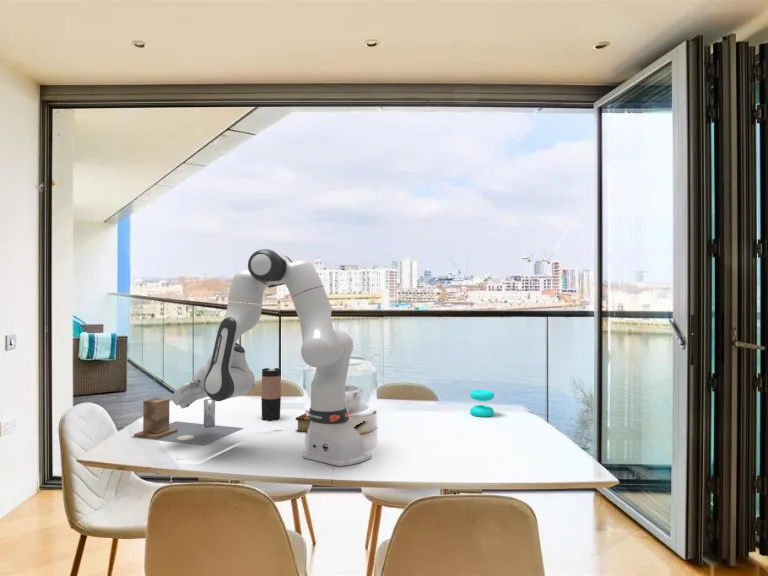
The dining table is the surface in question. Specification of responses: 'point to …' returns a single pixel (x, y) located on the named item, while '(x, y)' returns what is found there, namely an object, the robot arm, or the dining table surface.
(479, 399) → the donuts
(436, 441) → the dining table surface
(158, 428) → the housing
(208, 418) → the peg
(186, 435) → the board
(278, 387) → the travel mug
